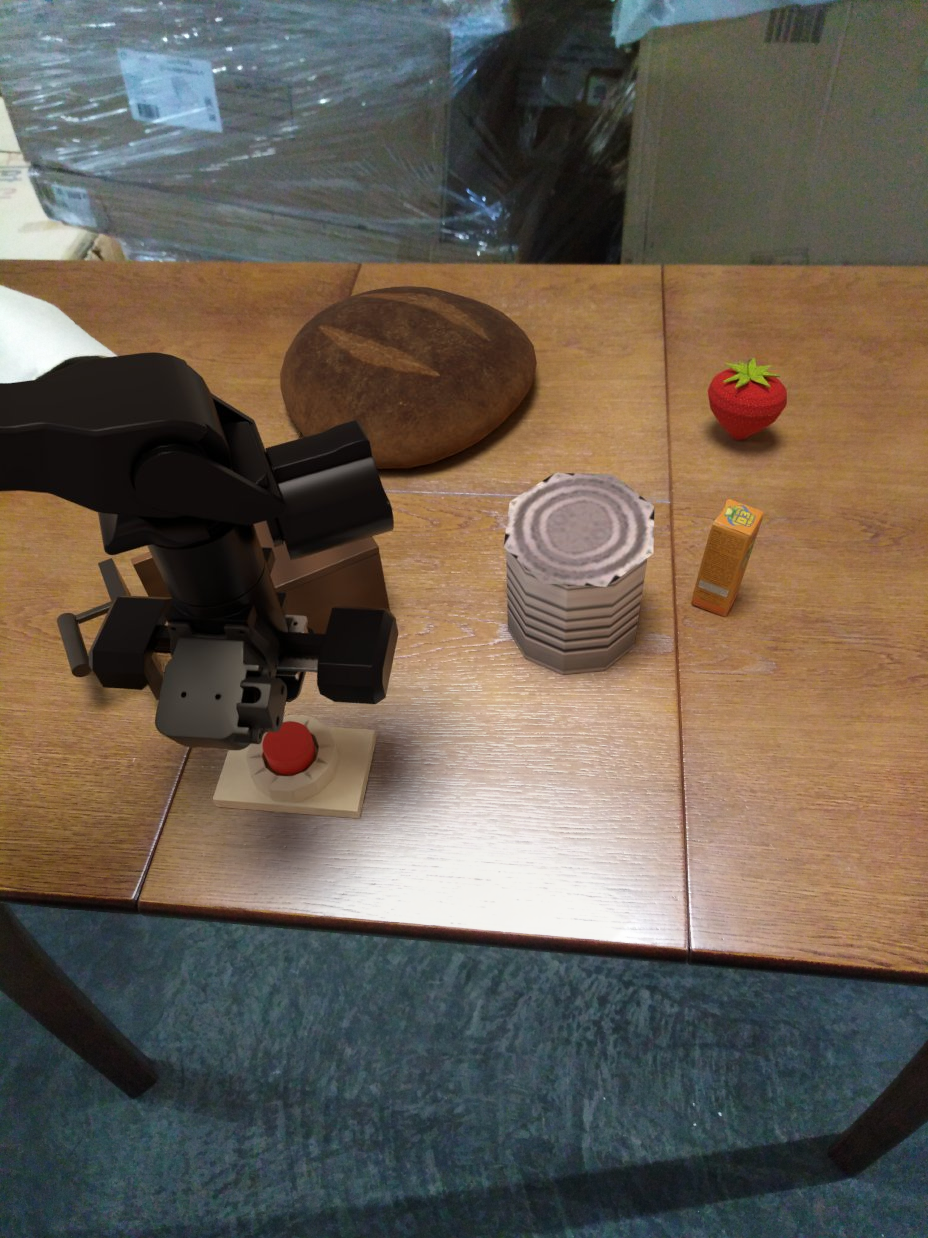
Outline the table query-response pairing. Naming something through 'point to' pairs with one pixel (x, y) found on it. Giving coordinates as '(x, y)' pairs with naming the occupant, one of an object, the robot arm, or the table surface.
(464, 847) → the table surface
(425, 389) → the bread
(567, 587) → the can
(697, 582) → the supplement box
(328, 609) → the brown wooden drawer box
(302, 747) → the button
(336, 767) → the control block
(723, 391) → the strawberry
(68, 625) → the brown drawer
